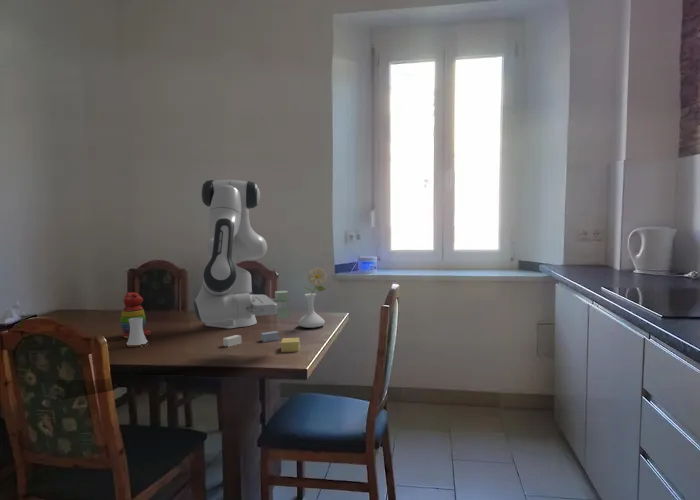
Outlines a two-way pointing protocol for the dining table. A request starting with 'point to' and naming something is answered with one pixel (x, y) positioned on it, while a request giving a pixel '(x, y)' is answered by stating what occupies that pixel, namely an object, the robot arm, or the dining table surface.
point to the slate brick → (269, 336)
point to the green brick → (281, 297)
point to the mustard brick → (290, 344)
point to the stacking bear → (132, 312)
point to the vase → (136, 332)
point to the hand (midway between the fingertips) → (284, 302)
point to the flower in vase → (311, 317)
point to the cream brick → (232, 340)
